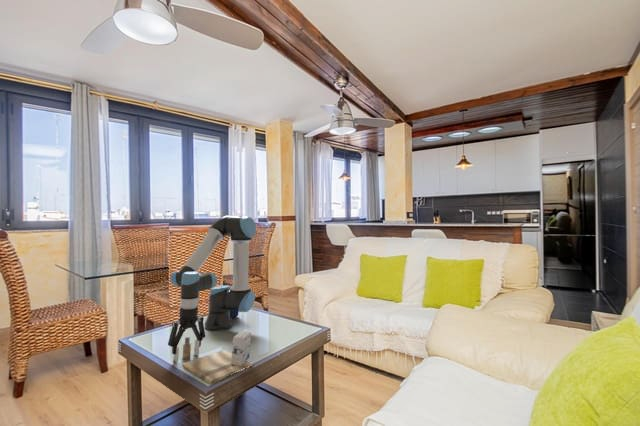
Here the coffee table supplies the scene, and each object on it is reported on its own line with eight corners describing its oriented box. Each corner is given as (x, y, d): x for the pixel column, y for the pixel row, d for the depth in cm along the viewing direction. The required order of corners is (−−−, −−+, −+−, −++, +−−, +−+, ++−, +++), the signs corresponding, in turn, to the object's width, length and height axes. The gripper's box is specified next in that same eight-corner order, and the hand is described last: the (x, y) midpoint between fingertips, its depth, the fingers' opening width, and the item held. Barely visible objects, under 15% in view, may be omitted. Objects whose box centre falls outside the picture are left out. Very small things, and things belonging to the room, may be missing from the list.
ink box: (239, 356, 144) (241, 330, 145) (250, 358, 143) (251, 331, 144) (230, 364, 136) (232, 336, 136) (242, 366, 135) (243, 338, 135)
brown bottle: (188, 355, 146) (189, 336, 146) (191, 358, 144) (192, 337, 144) (181, 358, 143) (182, 337, 144) (184, 360, 141) (185, 339, 142)
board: (223, 352, 151) (224, 349, 151) (252, 366, 138) (252, 363, 138) (182, 366, 136) (183, 363, 136) (210, 383, 122) (210, 380, 122)
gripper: (206, 301, 155) (203, 348, 154) (160, 309, 138) (157, 362, 137) (215, 304, 150) (212, 353, 149) (169, 313, 133) (166, 368, 133)
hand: (186, 357), depth 143 cm, fingers open, 9 cm apart
